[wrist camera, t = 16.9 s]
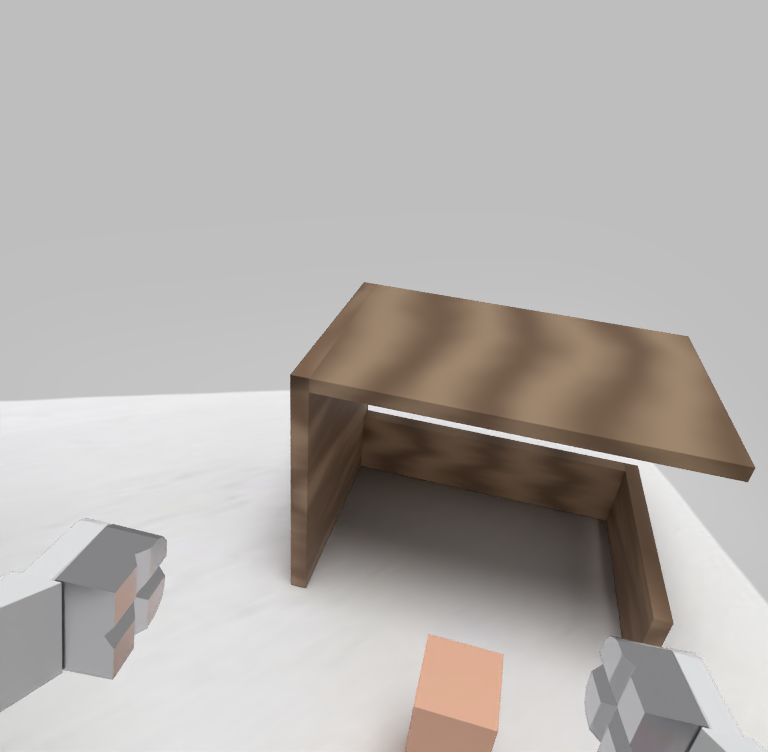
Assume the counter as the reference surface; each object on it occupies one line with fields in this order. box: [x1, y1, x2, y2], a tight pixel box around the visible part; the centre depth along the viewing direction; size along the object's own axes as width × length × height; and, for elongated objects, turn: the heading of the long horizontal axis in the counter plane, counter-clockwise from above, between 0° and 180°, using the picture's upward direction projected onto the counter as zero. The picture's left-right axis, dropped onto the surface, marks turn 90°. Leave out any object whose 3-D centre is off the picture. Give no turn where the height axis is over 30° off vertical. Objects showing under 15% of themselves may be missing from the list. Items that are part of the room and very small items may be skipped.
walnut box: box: [290, 282, 755, 647], centre depth 45 cm, size 26×17×19 cm, turn 76°
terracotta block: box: [405, 634, 504, 752], centre depth 31 cm, size 4×4×10 cm
